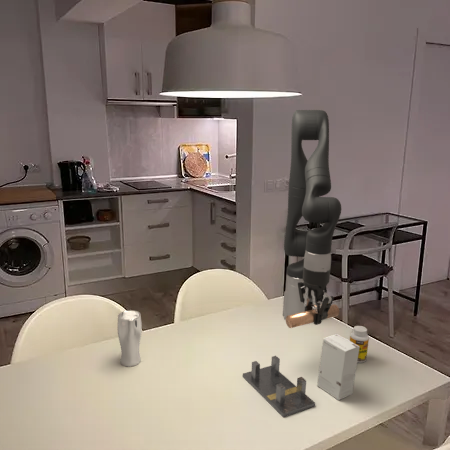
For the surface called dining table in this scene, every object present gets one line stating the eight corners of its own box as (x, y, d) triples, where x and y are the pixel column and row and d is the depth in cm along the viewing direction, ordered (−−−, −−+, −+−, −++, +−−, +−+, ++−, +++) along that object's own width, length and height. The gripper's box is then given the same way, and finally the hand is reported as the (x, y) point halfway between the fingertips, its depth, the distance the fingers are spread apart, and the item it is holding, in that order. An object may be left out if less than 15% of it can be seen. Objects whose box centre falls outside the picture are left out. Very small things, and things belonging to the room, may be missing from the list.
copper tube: (292, 330, 131) (293, 318, 130) (285, 324, 134) (286, 313, 133) (338, 318, 139) (340, 307, 138) (330, 313, 142) (331, 302, 141)
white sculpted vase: (124, 370, 134) (123, 322, 130) (114, 359, 139) (113, 313, 136) (146, 362, 138) (145, 316, 134) (136, 352, 143) (135, 308, 140)
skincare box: (316, 386, 128) (320, 337, 125) (331, 379, 132) (335, 331, 128) (339, 401, 122) (344, 350, 118) (355, 394, 125) (360, 344, 122)
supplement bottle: (352, 364, 140) (355, 333, 138) (345, 354, 146) (347, 324, 143) (369, 363, 141) (373, 332, 139) (361, 353, 146) (365, 324, 144)
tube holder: (242, 376, 132) (243, 357, 131) (271, 368, 137) (272, 350, 135) (283, 417, 115) (284, 396, 114) (315, 406, 120) (316, 385, 118)
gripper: (291, 260, 136) (288, 313, 141) (322, 276, 124) (318, 334, 129) (311, 256, 140) (307, 309, 144) (344, 272, 128) (338, 328, 132)
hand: (312, 320), depth 136 cm, fingers closed on copper tube, 3 cm apart
